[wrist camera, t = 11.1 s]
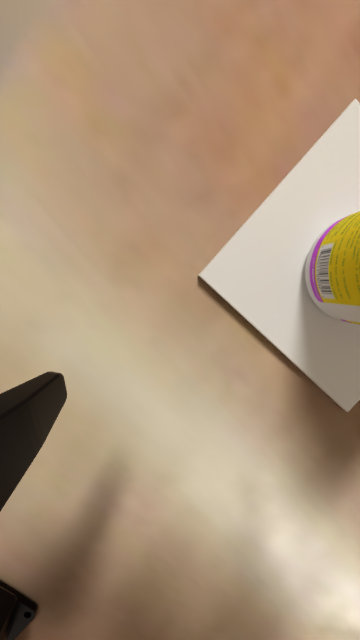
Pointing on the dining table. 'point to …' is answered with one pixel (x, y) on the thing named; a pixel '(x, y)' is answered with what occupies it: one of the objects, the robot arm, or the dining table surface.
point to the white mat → (298, 262)
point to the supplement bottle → (336, 270)
